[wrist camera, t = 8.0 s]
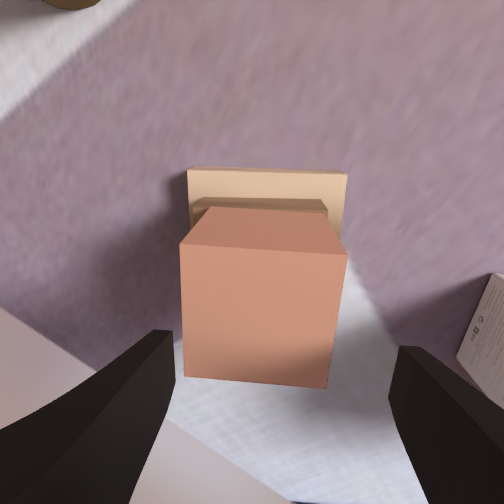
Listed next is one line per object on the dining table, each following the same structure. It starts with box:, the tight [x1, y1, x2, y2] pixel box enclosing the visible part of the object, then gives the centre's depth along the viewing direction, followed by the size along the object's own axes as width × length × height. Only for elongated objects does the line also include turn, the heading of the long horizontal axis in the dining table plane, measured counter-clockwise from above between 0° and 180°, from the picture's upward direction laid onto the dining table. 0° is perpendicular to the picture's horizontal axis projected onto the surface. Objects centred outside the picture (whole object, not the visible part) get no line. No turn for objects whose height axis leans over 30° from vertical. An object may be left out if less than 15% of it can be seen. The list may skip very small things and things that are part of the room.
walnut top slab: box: [193, 197, 328, 226], centre depth 17 cm, size 6×6×2 cm
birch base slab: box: [187, 166, 347, 240], centre depth 19 cm, size 8×8×2 cm
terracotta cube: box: [179, 206, 348, 389], centre depth 13 cm, size 5×5×5 cm
